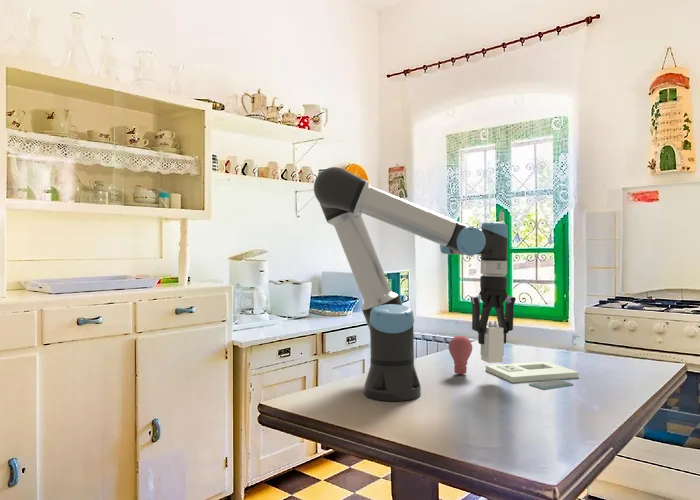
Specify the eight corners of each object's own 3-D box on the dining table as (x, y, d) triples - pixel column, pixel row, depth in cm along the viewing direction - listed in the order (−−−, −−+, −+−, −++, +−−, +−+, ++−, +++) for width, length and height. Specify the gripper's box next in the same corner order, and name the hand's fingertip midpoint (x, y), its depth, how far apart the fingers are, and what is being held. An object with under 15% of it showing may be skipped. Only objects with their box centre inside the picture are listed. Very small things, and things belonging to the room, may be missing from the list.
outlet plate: (512, 382, 159) (512, 375, 159) (485, 370, 174) (485, 364, 174) (578, 377, 164) (578, 370, 164) (547, 366, 180) (546, 360, 180)
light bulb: (466, 378, 164) (466, 338, 164) (444, 375, 168) (444, 336, 168) (476, 374, 170) (476, 335, 170) (455, 371, 174) (455, 333, 174)
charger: (488, 362, 158) (489, 322, 158) (481, 359, 162) (482, 320, 162) (502, 362, 159) (503, 322, 159) (495, 359, 163) (495, 320, 163)
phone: (543, 391, 151) (543, 387, 151) (529, 387, 156) (528, 383, 156) (573, 387, 155) (573, 383, 155) (558, 382, 160) (558, 379, 160)
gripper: (471, 275, 155) (470, 358, 155) (527, 276, 159) (525, 356, 159) (460, 274, 162) (458, 353, 162) (513, 274, 166) (512, 351, 166)
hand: (491, 354), depth 161 cm, fingers closed on charger, 4 cm apart
